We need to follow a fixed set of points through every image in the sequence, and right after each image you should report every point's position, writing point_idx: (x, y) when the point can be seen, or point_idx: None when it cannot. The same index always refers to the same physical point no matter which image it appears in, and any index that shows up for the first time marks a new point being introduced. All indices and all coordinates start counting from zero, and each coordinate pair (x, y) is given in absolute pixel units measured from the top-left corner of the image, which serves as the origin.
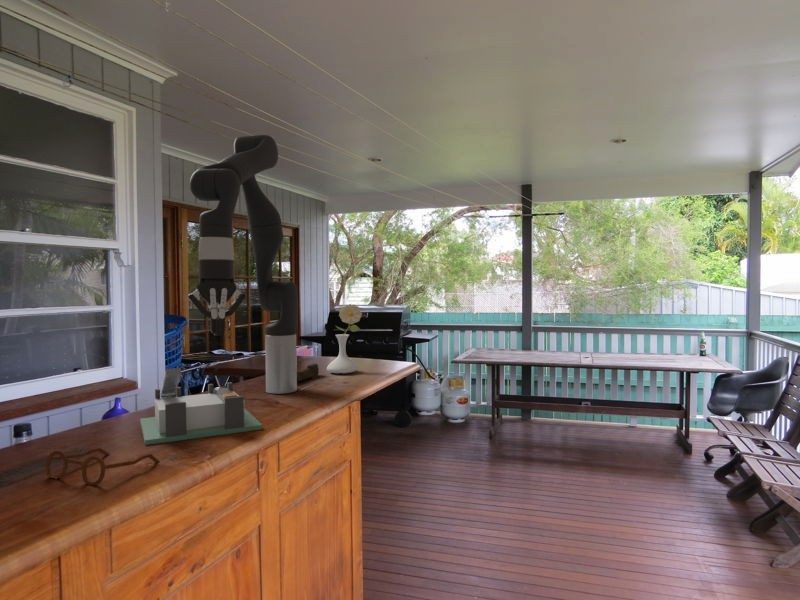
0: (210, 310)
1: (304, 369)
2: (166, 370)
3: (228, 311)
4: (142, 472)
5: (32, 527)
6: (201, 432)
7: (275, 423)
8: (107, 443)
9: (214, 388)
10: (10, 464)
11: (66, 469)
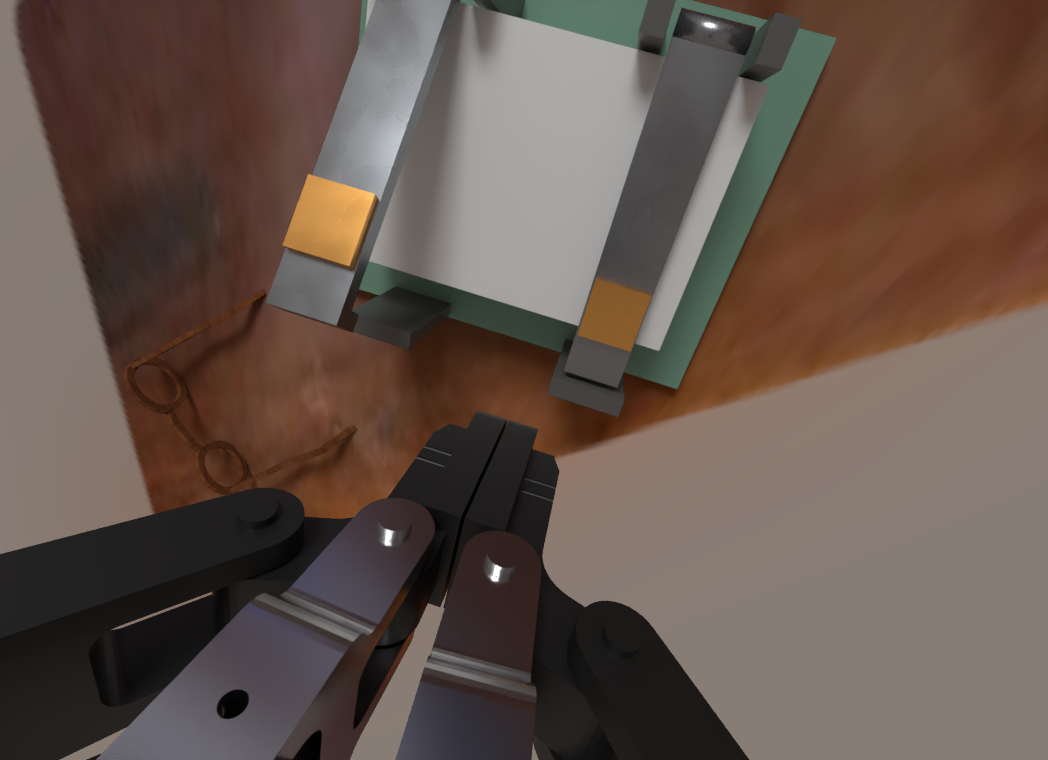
0: (317, 601)
1: None
2: (273, 305)
3: (542, 754)
4: (318, 461)
5: None
6: (491, 327)
7: (756, 355)
8: (260, 177)
9: (674, 33)
10: (69, 200)
11: (180, 403)
